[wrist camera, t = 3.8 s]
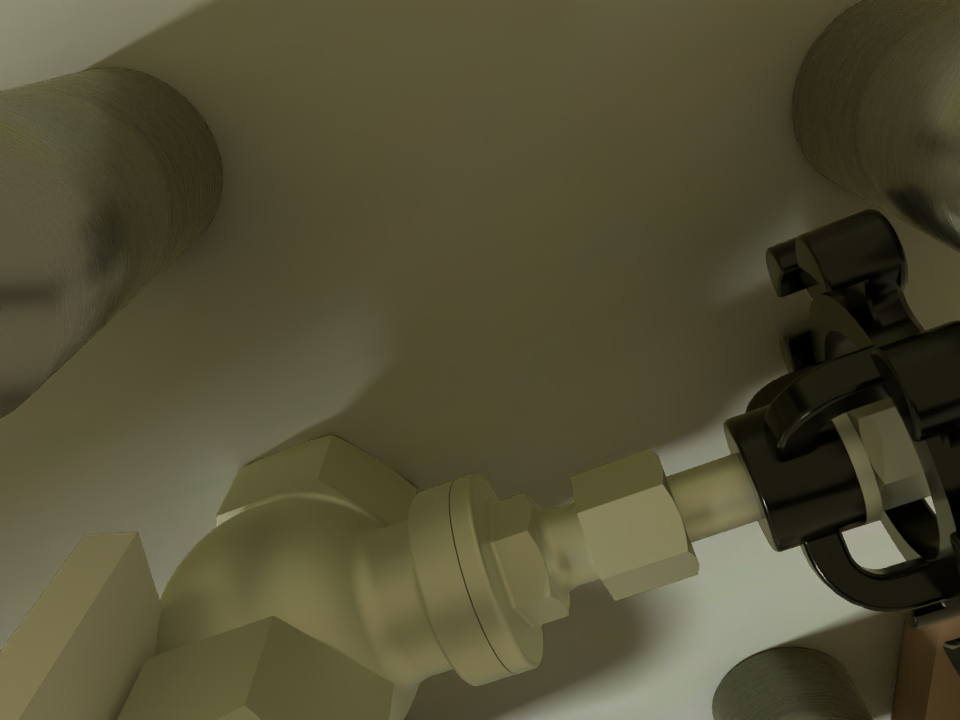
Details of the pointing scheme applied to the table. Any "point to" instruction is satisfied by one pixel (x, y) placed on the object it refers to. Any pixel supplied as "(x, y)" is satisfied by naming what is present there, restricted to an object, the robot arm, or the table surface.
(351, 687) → the valve
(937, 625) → the hook tool
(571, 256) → the table surface
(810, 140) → the spacers
